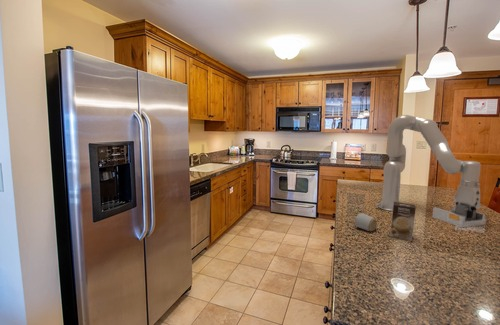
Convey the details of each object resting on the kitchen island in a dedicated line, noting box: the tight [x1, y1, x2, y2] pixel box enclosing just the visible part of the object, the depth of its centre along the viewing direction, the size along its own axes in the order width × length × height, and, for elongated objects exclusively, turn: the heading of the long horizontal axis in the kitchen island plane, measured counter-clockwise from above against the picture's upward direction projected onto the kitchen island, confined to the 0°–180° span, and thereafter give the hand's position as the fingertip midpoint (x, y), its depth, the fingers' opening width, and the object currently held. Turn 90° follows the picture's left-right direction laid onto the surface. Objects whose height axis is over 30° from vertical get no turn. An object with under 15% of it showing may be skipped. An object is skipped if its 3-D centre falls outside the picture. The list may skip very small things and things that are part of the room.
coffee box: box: [389, 201, 417, 242], centre depth 123 cm, size 9×6×16 cm
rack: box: [432, 205, 486, 228], centre depth 146 cm, size 16×16×6 cm
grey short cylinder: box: [354, 212, 378, 232], centre depth 133 cm, size 11×8×8 cm
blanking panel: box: [455, 204, 477, 220], centre depth 142 cm, size 10×4×8 cm, turn 106°
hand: (464, 216), depth 143 cm, fingers closed on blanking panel, 3 cm apart
